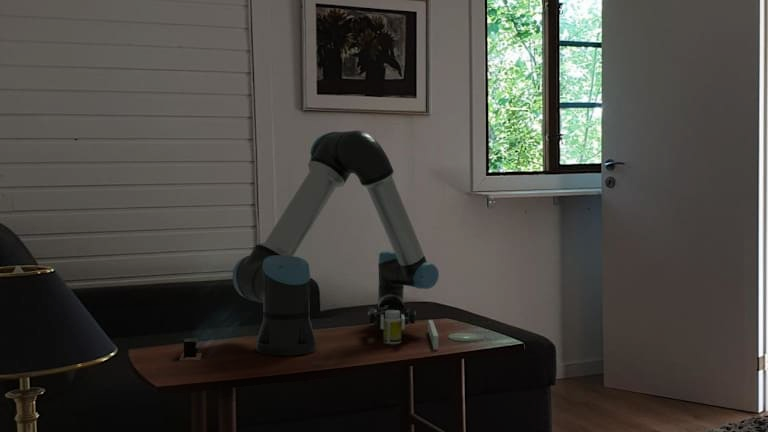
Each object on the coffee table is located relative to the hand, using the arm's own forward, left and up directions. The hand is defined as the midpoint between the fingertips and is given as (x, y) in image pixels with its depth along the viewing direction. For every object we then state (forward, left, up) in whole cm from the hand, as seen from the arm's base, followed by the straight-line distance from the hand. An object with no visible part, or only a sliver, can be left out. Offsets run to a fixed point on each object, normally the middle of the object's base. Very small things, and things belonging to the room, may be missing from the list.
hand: (392, 323), depth 205 cm
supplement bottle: (0, +5, -6) cm, 8 cm away
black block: (-49, -11, -7) cm, 51 cm away
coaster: (+20, +11, -6) cm, 24 cm away
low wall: (+11, +8, -6) cm, 15 cm away
